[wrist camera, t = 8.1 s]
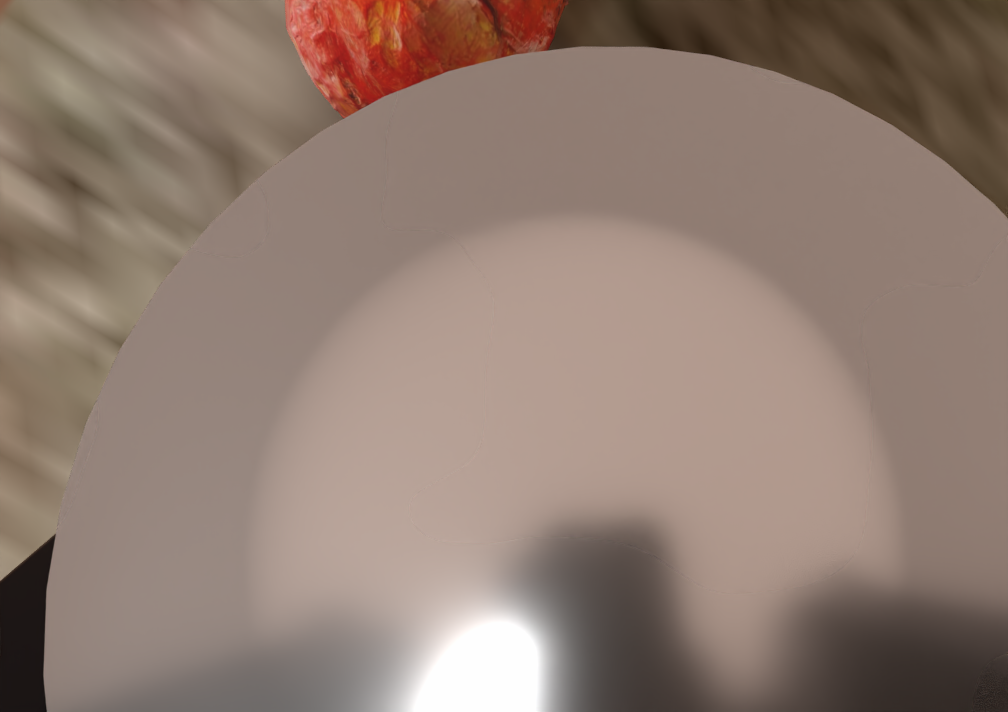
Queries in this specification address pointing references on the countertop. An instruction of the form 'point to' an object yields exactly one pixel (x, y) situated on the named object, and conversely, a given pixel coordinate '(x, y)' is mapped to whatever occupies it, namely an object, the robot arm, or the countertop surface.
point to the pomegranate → (409, 41)
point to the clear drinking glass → (559, 416)
